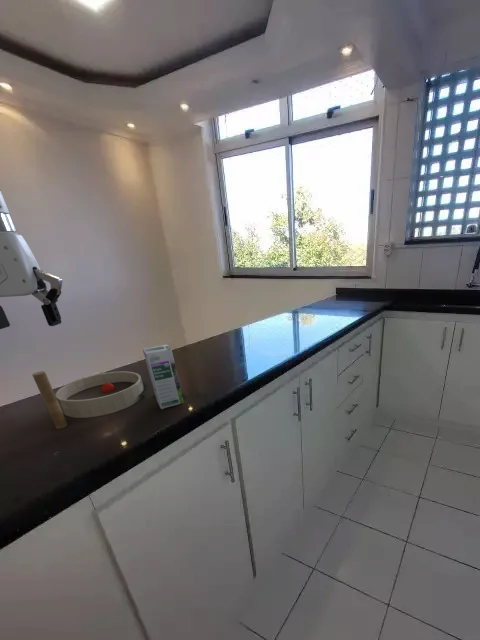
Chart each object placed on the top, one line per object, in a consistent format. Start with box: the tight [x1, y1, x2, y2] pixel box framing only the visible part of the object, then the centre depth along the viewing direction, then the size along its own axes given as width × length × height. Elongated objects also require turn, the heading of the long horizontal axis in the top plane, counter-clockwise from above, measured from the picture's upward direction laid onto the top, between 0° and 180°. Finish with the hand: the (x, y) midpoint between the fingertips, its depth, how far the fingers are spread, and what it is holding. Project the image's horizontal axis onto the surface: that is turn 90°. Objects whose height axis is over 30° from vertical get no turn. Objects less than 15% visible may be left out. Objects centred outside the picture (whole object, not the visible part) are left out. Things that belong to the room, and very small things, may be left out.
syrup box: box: [142, 344, 185, 410], centre depth 76 cm, size 6×6×14 cm
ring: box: [55, 370, 145, 419], centre depth 81 cm, size 19×19×4 cm
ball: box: [101, 383, 116, 394], centre depth 84 cm, size 3×3×3 cm
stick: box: [31, 370, 68, 430], centre depth 68 cm, size 2×2×13 cm
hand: (29, 326), depth 61 cm, fingers open, 9 cm apart
